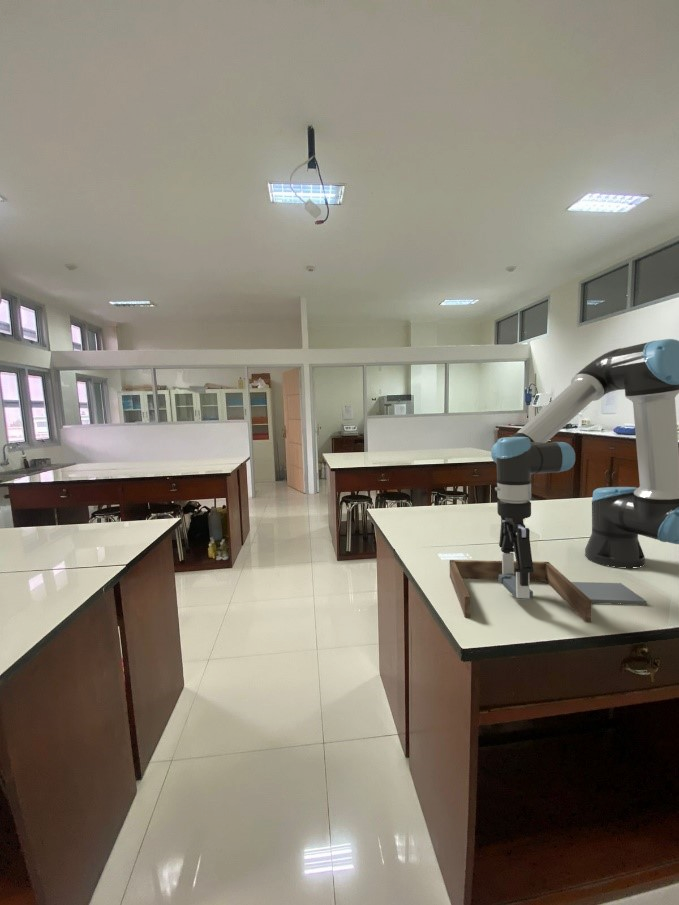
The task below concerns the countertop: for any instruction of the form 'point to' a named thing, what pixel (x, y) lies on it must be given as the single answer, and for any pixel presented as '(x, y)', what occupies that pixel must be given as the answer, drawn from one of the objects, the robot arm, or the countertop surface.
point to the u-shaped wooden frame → (494, 568)
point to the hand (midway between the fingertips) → (515, 586)
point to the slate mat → (609, 593)
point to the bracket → (511, 584)
